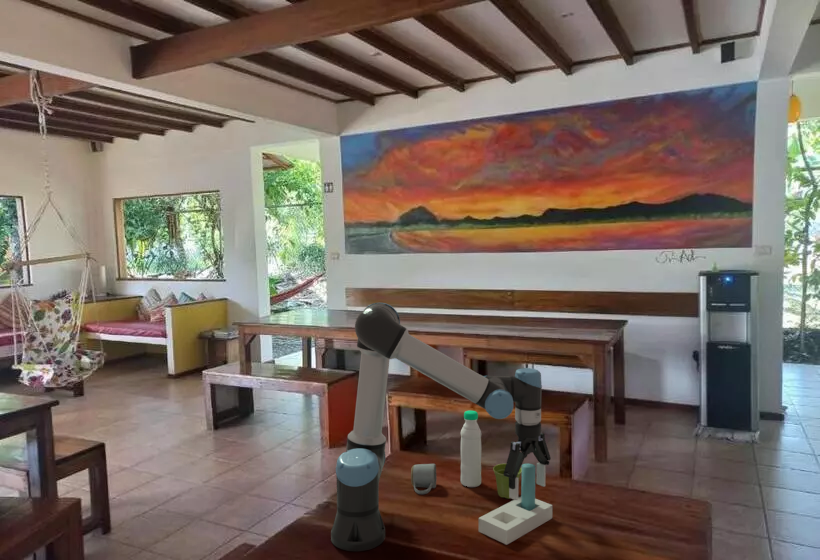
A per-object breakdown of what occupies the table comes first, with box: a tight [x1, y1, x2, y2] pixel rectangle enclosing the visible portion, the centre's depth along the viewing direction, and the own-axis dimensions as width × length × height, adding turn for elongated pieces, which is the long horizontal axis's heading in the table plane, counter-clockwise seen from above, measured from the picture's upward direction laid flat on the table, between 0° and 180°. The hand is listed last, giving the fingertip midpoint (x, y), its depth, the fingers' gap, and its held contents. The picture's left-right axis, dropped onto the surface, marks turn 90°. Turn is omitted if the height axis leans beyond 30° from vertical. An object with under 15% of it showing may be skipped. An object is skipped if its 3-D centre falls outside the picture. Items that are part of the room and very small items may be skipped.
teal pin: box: [520, 463, 536, 511], centre depth 171 cm, size 4×4×15 cm
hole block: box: [478, 496, 553, 545], centre depth 168 cm, size 10×22×4 cm, turn 133°
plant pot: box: [492, 463, 522, 499], centre depth 188 cm, size 9×9×9 cm
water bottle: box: [460, 409, 482, 488], centre depth 196 cm, size 7×7×25 cm
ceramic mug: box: [410, 463, 437, 495], centre depth 193 cm, size 11×8×8 cm
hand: (527, 491), depth 171 cm, fingers open, 13 cm apart
